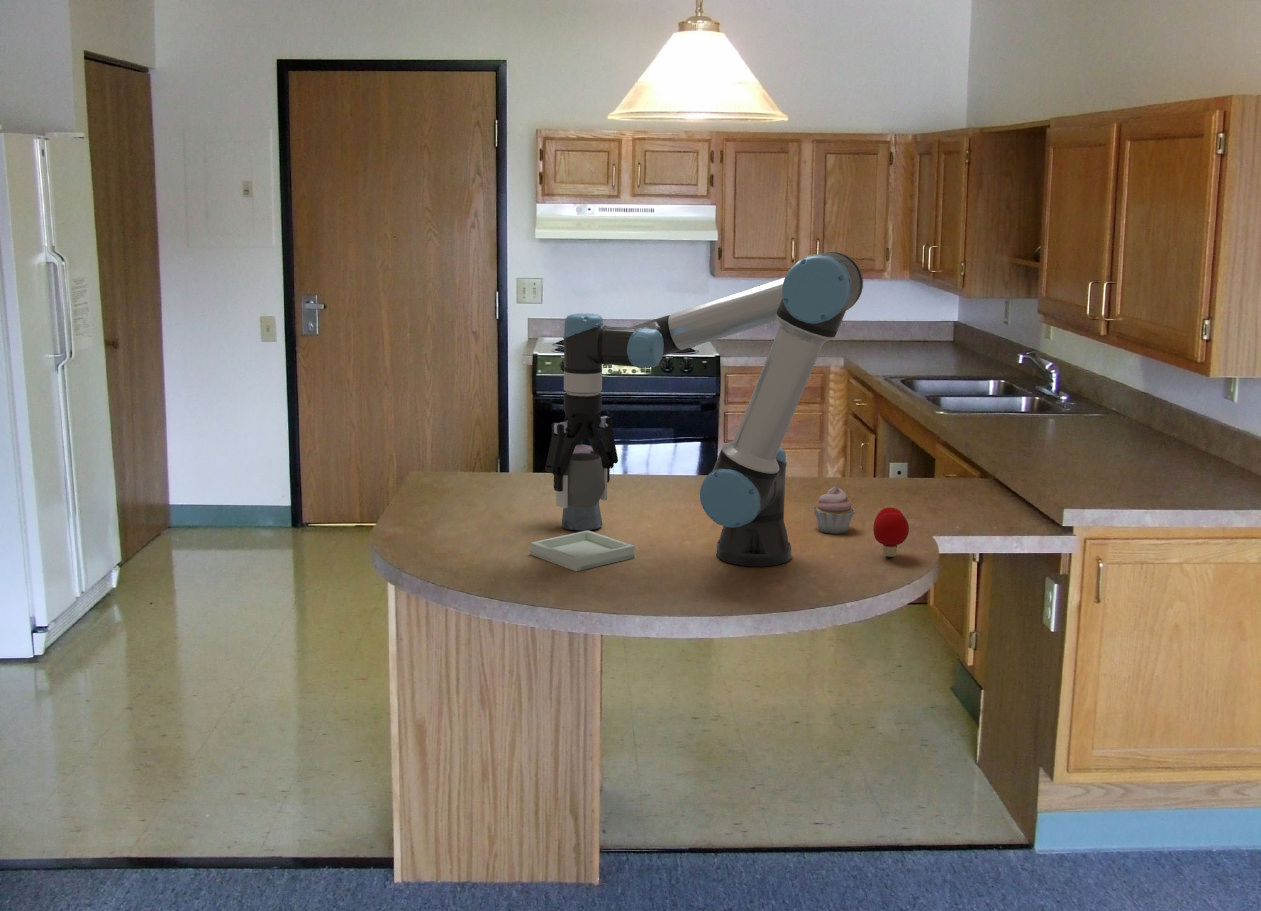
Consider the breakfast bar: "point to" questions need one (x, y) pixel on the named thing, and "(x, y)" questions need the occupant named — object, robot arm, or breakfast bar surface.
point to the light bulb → (890, 530)
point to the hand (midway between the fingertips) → (581, 502)
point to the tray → (582, 550)
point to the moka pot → (582, 516)
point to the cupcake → (834, 512)
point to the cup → (585, 480)
